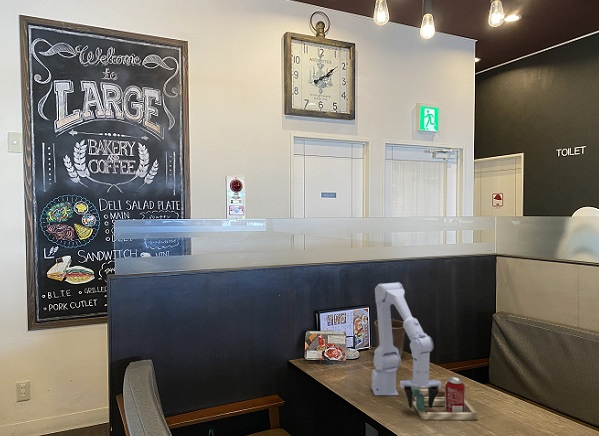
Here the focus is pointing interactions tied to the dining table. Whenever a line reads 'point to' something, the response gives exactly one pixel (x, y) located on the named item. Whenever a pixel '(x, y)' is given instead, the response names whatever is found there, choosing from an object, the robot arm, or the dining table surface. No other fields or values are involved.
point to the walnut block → (441, 392)
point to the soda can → (454, 395)
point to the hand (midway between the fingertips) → (420, 406)
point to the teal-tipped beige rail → (422, 402)
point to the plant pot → (394, 334)
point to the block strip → (422, 391)
